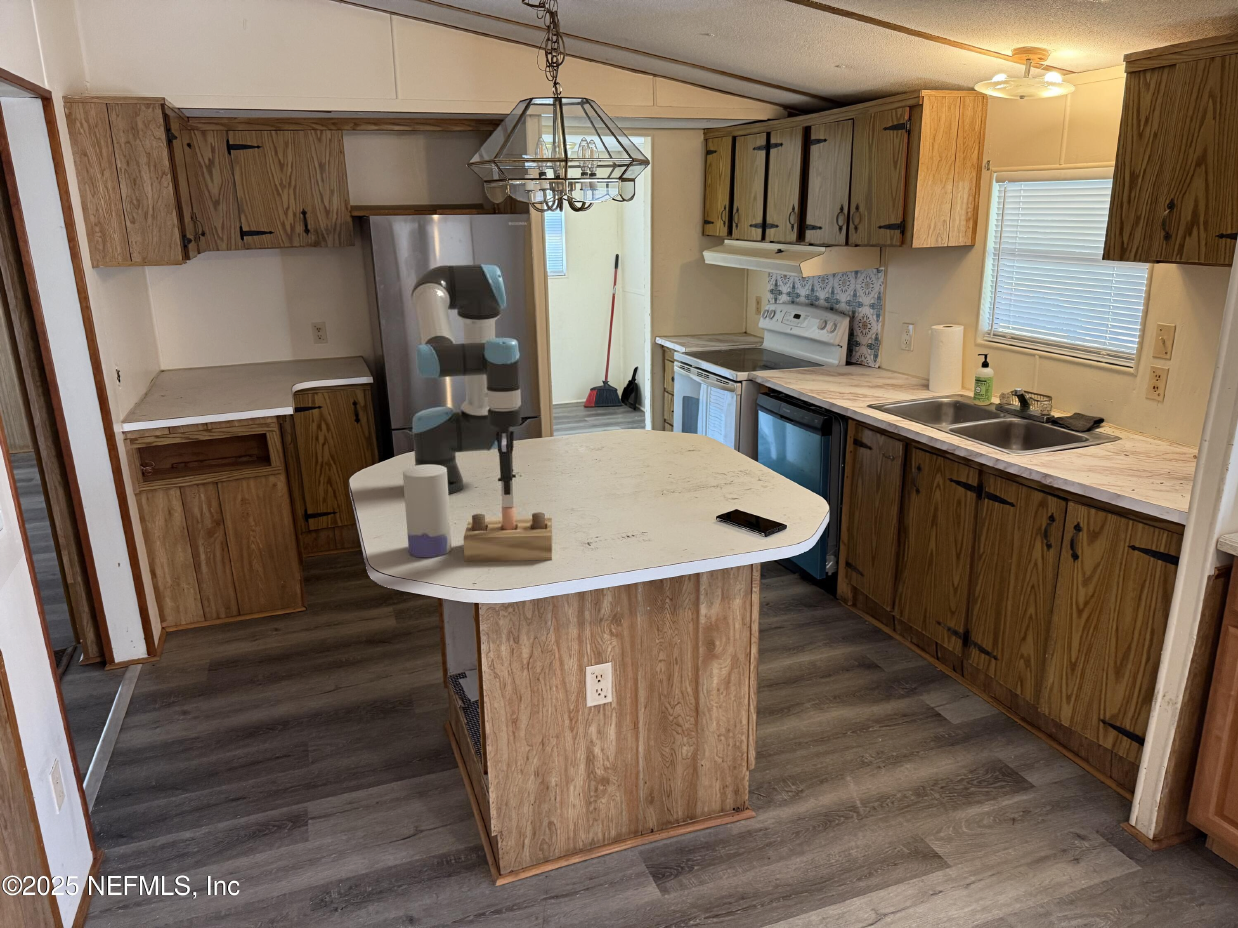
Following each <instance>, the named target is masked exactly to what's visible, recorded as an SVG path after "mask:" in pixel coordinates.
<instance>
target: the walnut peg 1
mask: <svg viewBox="0 0 1238 928" xmlns="http://www.w3.org/2000/svg"><path fill="white" fill-rule="evenodd" d="M485 519H486V514H485V513H474V514H472V516H471V520H472V526H473V531H486V527H485Z"/></svg>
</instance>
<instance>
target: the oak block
mask: <svg viewBox="0 0 1238 928" xmlns="http://www.w3.org/2000/svg"><path fill="white" fill-rule="evenodd" d="M485 527H486V531H473V526H472V519H468V521H467V525H466V528H465V531H464V535H463V537H462V538H463V551H464V553H463V554H464V562H465V563H473V562H474V563H475V562H476V563H477V562H507V561H508V562H509V561H510V562H511V561H515V562H516V561H536V560H537V561H546V560H549V561H550V560H553V518H552V517H545V529H539V530H533V529H532V517H530V518H529V517H528V518H527V517H525V518H524V517H523V518H522V517H521V518H515V530H503V525H502V518H490V519H489V518H485Z"/></svg>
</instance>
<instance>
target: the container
mask: <svg viewBox="0 0 1238 928" xmlns="http://www.w3.org/2000/svg"><path fill="white" fill-rule="evenodd" d="M402 479H403V480H402V481H403V491H404V492H403V493H404V505H405V506H404V507H405V518H406V519H405V520H406V533H407V545H408V553H409V554H410V555H411V556H414V557H418V558H434V557H440V556H442V555H445V554H448V553H449V552H450V551H452V549H453V548H452V535H451V534H452V533H451V531H452V529H451V518H450V501H449V499H450V497H449V494H448V481H447V469H446V468H445V467H444V466H440V465H417V466H415V465H413V466H409V467H407V468H405V469H403V471H402Z"/></svg>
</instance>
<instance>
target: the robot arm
mask: <svg viewBox="0 0 1238 928" xmlns="http://www.w3.org/2000/svg"><path fill="white" fill-rule="evenodd" d="M503 280H504V279H503V276H502V273H501V270H500V268H499V267H498V266H497V265H493V264H482V263H481V264H458V265H457V264H456V265H454V264H453V265H450V264H449V265H447V264H444V265H438V266H435V267H433V268H430V269H429V270H427V271H425V272H424V273H422V274H421V276H420V277H418V279H417V280H416V282H415V283H414V285H413V287H412V289H411V298H410V299H411V305H412V307H413V309H414V311H415V313H417V319H418V326H419V331H420V339H421V344H420V345H417V346H416V348H415V363H416V364H415V365H416V373H417V375H418V377H420V378H427V379H428V378H431V379H432V378H433V379H437V378H451V377H464V379H465V380H464V381H465V401H464V402H463V403H462V404H461V405H460V406H461V407H460V411H456V412H454V409H453V408H452V407H451V406H438V407H431V408H428V409H424V410H421V411H419V412H417V413H416V414H414V416H413V417H412V430H411V431H412V434H413V448H414V466H417V465H440V466H444V467H445V468H446V469H447V481H448V495H450V494H454V493H457V492H460V491H461V490H462V489H463V488H464V479H463V478H464V477H463V475H462V473H461V470H460V468H459V466H458V463H457V456H456V455H457V454H456V453H468V452H481V451H487V452H490V451H493V450H497V453H498V459H499V461H498V462H499V472H500V473H499V475H500V477H497V478H498V479H497V482H500V486H501V487H500V488H501V508H502V507H514V506H515V497H514V496H515V495H514V491H515V490H514V479H515V478H517V474H513V473H514V469H513V468H514V463H513V459H514V457H513V452H514V447H515V446H514V439H515V430H512V427H517V426H519V425H521V424H522V409H521V408H520V406H521V405H522V401H521V399H522V398H521V384H520V356H521V355H520V352H519V351H520V350H519V342H518V341H517V339H515V338H510V337H496V321H497V319H498V318H500V316H501V310H503V309H505V308H506V307H507V297H506V292H505V285H504V281H503ZM449 310H451V311H453V310H454V311H455V310H456V311H457V312H456V313H457V317H458V318H460V319H461V321H462V324H463V343H455V338H454V335H453V334H454V333H453V330H452V324H451V319H450V314H449Z"/></svg>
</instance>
